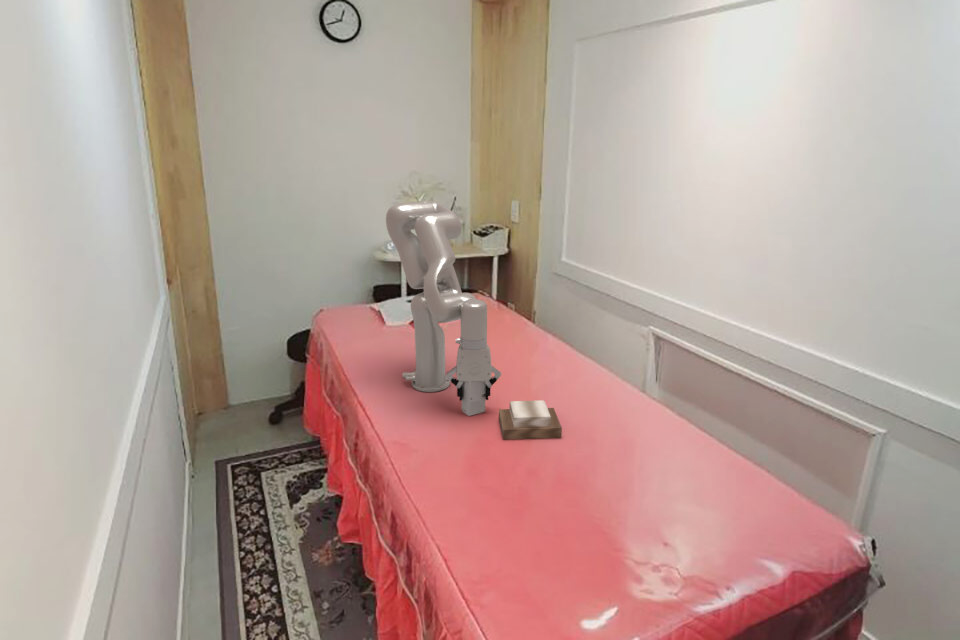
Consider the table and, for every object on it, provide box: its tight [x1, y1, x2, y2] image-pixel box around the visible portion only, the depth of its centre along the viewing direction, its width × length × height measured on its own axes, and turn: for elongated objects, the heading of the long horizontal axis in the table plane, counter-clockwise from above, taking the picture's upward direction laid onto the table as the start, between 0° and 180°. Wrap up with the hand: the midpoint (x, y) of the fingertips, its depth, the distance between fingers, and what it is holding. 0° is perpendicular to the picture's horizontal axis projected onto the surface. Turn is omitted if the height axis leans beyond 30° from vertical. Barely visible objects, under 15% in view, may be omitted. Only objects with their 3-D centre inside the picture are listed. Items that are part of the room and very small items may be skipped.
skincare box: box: [461, 378, 486, 417], centre depth 172 cm, size 6×4×12 cm
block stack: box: [498, 399, 563, 440], centre depth 164 cm, size 16×12×6 cm
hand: (473, 397), depth 173 cm, fingers closed on skincare box, 7 cm apart
